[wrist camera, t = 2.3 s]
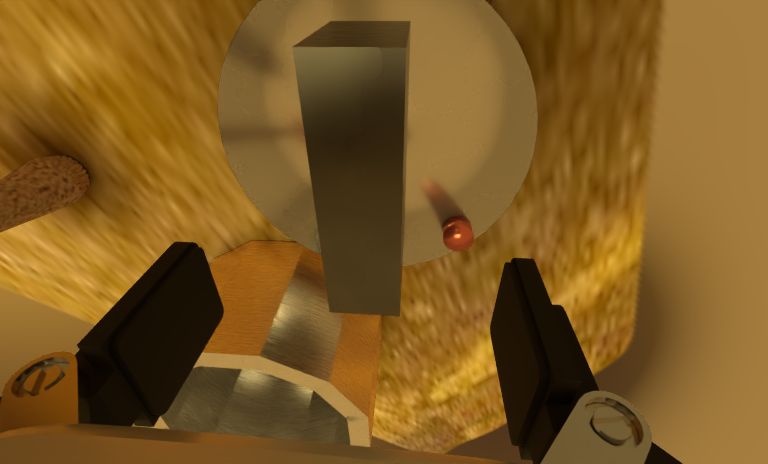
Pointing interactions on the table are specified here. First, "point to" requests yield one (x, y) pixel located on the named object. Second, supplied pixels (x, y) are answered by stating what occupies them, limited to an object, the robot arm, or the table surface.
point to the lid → (377, 132)
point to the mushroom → (40, 189)
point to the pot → (281, 355)
